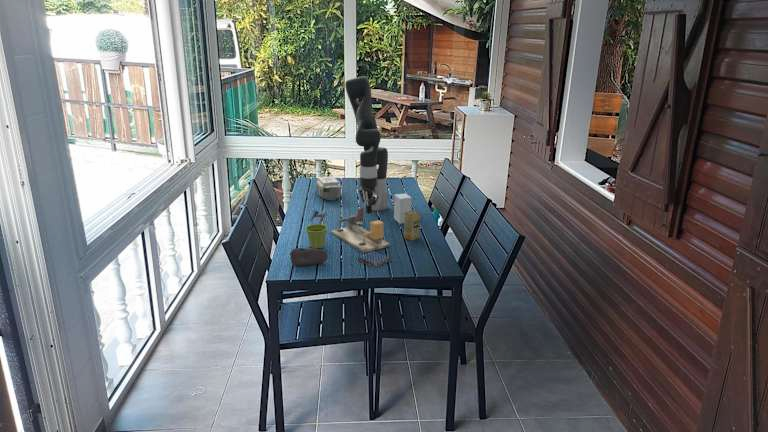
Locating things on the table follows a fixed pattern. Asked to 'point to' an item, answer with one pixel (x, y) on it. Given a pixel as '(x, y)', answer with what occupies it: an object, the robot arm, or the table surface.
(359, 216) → the hand axe
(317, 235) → the plant pot
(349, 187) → the table surface
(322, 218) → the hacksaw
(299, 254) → the perforated stone tool
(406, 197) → the small box
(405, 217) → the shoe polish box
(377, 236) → the block
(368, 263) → the woven mat
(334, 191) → the grey lidded box
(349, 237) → the board
